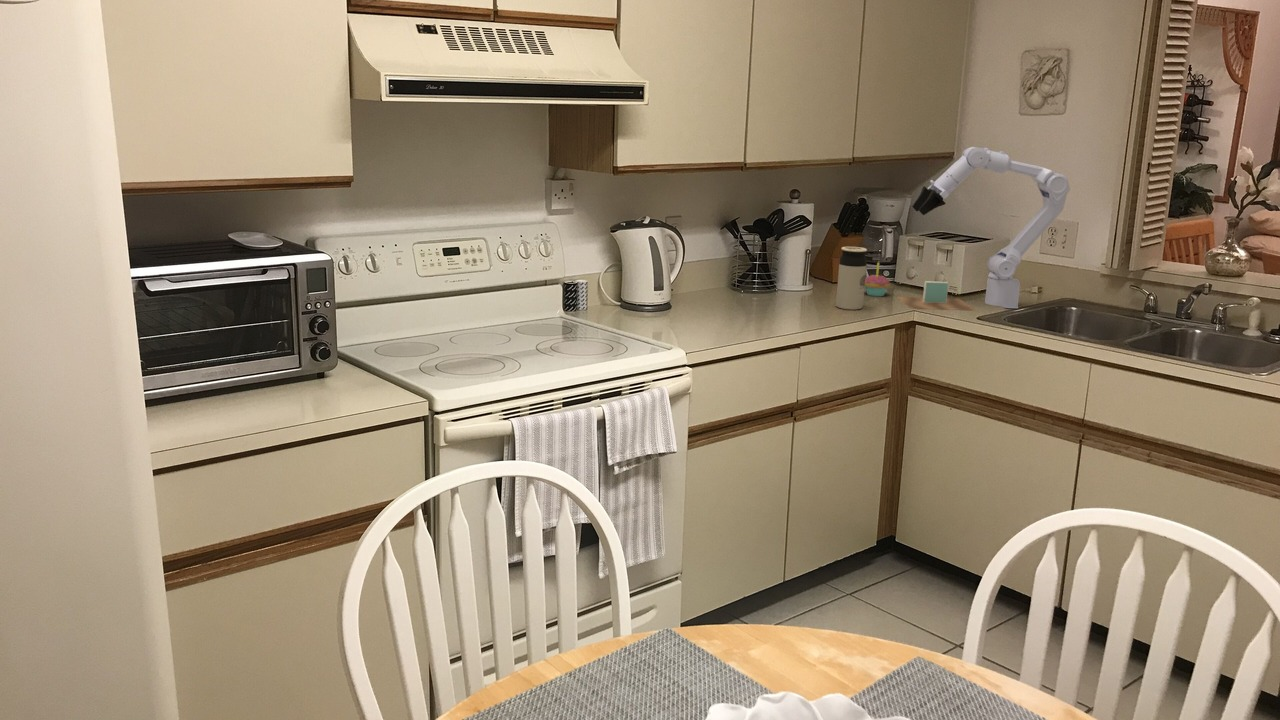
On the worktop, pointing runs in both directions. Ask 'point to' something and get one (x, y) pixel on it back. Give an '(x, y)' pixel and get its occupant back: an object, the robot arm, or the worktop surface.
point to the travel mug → (851, 278)
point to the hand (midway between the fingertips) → (917, 210)
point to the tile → (935, 292)
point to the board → (936, 304)
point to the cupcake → (876, 284)
